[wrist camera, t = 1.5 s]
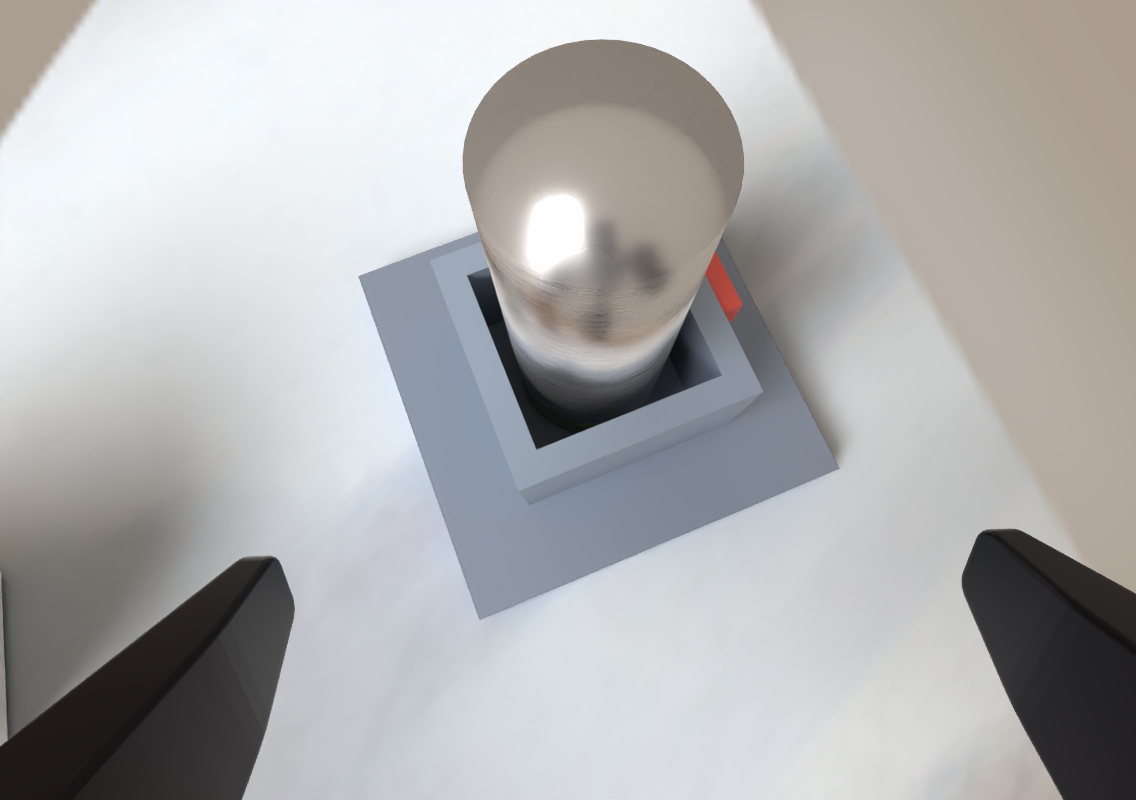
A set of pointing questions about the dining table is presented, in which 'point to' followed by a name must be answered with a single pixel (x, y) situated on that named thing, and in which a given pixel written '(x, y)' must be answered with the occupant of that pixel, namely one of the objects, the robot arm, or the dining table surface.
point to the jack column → (599, 216)
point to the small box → (2, 679)
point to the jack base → (597, 455)
